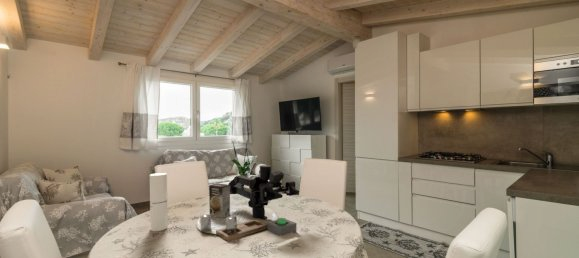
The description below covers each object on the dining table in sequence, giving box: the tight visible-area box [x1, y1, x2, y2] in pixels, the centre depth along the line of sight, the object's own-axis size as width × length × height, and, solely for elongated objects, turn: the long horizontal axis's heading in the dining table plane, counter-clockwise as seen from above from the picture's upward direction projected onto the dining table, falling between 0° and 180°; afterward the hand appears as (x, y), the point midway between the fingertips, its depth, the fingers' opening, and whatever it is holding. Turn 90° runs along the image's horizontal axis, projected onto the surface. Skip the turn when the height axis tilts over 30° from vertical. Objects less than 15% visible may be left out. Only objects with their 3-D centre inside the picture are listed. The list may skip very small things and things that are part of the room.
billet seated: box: [225, 215, 238, 235], centre depth 113 cm, size 4×4×7 cm
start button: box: [276, 217, 287, 226], centre depth 117 cm, size 4×4×2 cm
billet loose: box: [200, 213, 212, 232], centre depth 119 cm, size 4×4×7 cm
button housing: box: [266, 218, 297, 237], centre depth 117 cm, size 9×9×4 cm
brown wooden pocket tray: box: [215, 218, 267, 242], centre depth 116 cm, size 10×20×2 cm, turn 132°
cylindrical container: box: [149, 172, 169, 232], centre depth 123 cm, size 7×7×25 cm
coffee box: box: [208, 182, 231, 219], centre depth 141 cm, size 9×6×16 cm
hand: (290, 194), depth 116 cm, fingers open, 9 cm apart
